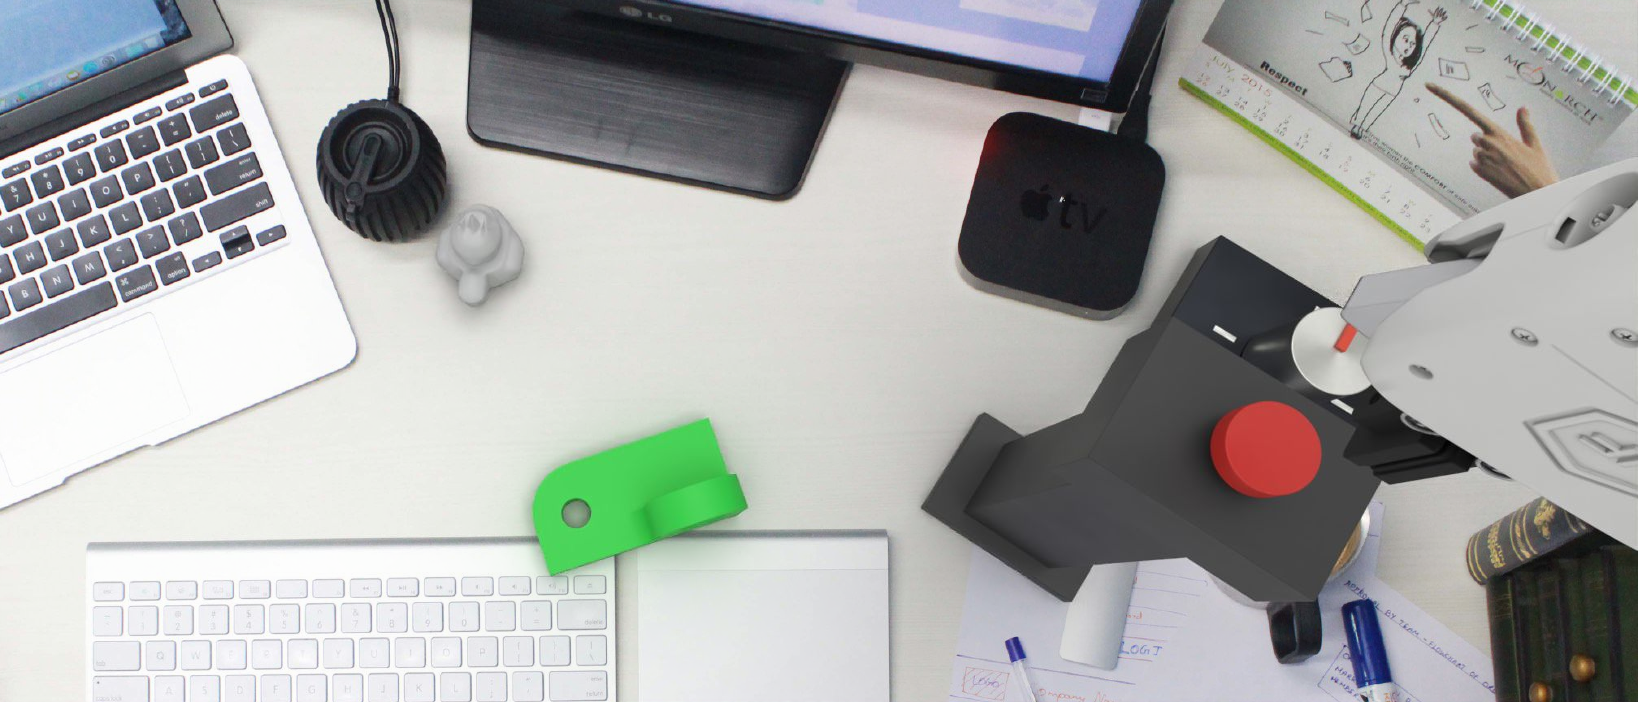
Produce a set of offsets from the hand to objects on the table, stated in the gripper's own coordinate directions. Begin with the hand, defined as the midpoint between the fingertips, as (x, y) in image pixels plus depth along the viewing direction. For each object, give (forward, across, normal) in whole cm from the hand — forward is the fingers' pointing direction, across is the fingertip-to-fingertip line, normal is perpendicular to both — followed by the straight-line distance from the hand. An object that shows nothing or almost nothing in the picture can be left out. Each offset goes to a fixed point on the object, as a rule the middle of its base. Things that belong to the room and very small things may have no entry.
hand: (1384, 432), depth 39 cm
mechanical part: (+34, -21, -13) cm, 42 cm away
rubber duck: (+34, -37, -6) cm, 50 cm away
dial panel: (+34, +7, +15) cm, 38 cm away
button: (+8, -1, 0) cm, 8 cm away
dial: (+31, +7, +15) cm, 35 cm away
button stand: (+34, -1, 0) cm, 34 cm away
